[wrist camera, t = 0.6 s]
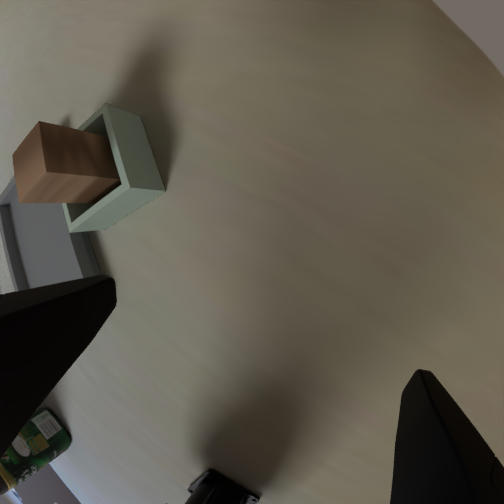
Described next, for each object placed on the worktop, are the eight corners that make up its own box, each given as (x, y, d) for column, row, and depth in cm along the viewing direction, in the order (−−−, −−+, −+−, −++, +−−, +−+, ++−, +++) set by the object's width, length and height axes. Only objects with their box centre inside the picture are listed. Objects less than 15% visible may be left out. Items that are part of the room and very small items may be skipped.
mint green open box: (165, 191, 24) (130, 187, 20) (105, 229, 26) (69, 232, 22) (140, 116, 24) (106, 103, 20) (86, 159, 27) (51, 155, 22)
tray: (113, 307, 27) (96, 313, 25) (46, 335, 32) (32, 341, 30) (64, 138, 27) (48, 135, 25) (9, 202, 32) (-5, 202, 30)
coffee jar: (63, 453, 37) (-8, 501, 19) (36, 417, 38) (-38, 458, 20) (78, 441, 34) (-6, 499, 16) (46, 399, 35) (-43, 447, 17)
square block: (138, 181, 24) (46, 172, 15) (107, 203, 25) (19, 203, 16) (126, 141, 24) (38, 121, 15) (96, 165, 25) (12, 155, 16)
